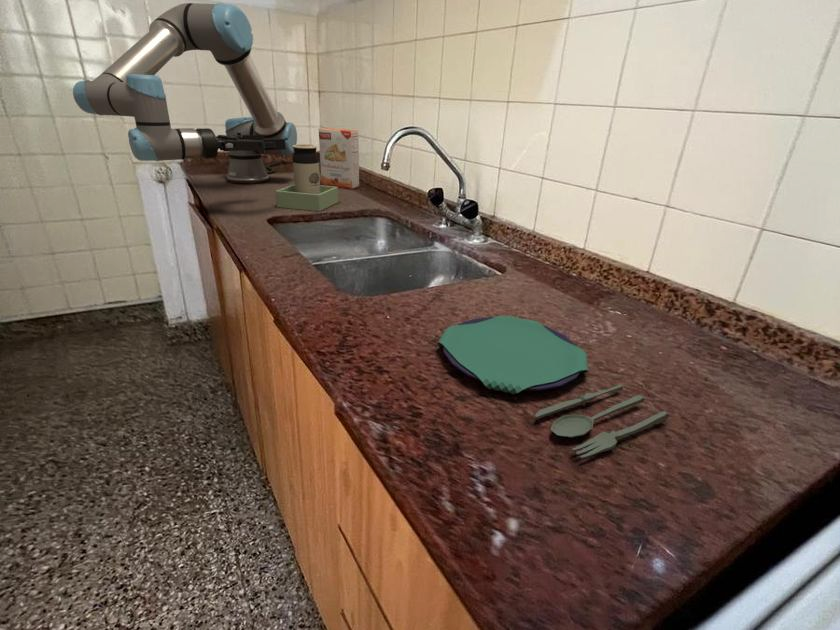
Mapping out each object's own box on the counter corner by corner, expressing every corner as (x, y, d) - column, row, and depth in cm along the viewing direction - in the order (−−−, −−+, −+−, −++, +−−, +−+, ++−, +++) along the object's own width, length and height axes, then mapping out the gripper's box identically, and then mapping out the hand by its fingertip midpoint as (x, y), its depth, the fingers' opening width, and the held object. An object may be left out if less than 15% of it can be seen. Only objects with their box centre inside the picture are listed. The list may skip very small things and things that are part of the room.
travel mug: (292, 203, 147) (287, 144, 139) (314, 200, 151) (311, 144, 143) (302, 208, 141) (297, 147, 133) (325, 205, 146) (322, 146, 138)
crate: (298, 198, 154) (297, 183, 152) (338, 202, 151) (338, 186, 149) (276, 207, 141) (275, 190, 139) (319, 211, 138) (318, 195, 136)
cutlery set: (520, 318, 77) (521, 306, 76) (681, 422, 54) (687, 407, 52) (417, 341, 68) (418, 328, 67) (555, 478, 45) (559, 460, 44)
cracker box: (320, 185, 175) (317, 127, 166) (329, 183, 180) (326, 127, 171) (351, 189, 171) (350, 130, 162) (359, 187, 176) (358, 129, 167)
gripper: (186, 153, 129) (258, 150, 142) (217, 164, 112) (295, 160, 125) (181, 125, 126) (255, 124, 138) (212, 132, 109) (293, 131, 122)
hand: (274, 141), depth 132 cm, fingers open, 13 cm apart
